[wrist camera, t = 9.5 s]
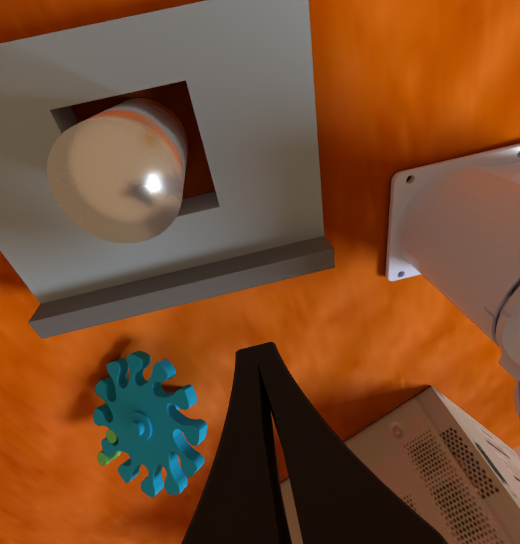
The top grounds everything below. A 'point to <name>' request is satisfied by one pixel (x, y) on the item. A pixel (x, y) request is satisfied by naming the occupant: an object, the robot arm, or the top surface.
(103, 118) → the cylindrical peg
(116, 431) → the gear
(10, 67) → the plate
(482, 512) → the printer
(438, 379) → the top surface
